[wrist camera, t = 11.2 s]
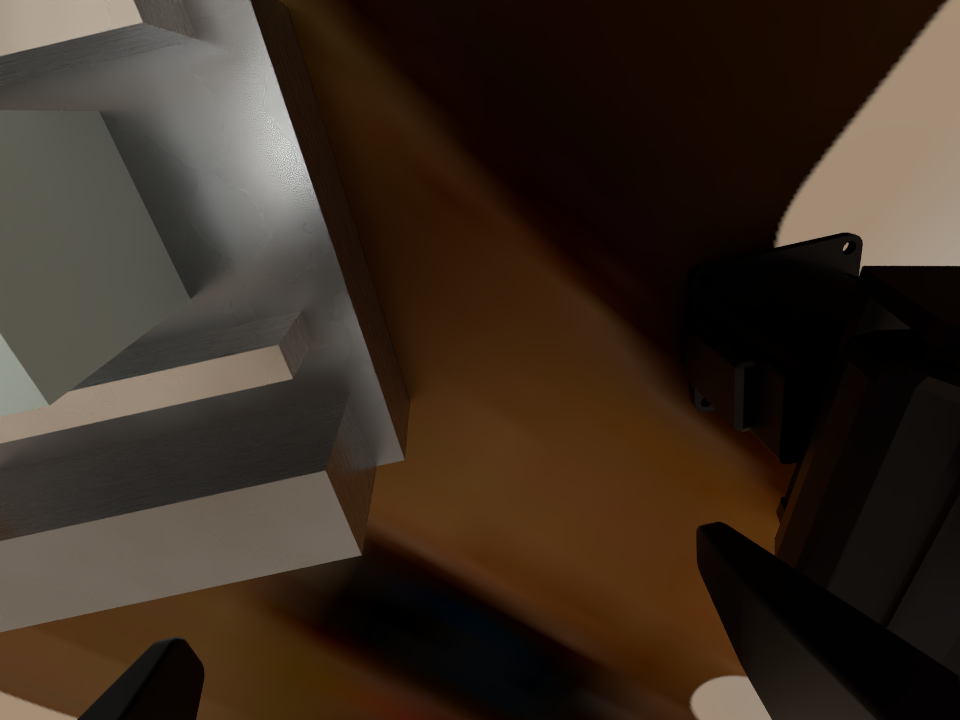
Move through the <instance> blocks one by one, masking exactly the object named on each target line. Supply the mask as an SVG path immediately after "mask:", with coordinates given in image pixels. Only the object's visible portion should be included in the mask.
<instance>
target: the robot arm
mask: <svg viewBox="0 0 960 720" xmlns="http://www.w3.org/2000/svg"><path fill="white" fill-rule="evenodd" d="M846 243H849V244H848V247H847V249H846V250H845V251H843V247H844V245H845V244H846ZM862 246H863V243H862V239H861V238H860V237H859V236H857V235H855V234H851V233H840V234H835V235H831V236H826V237H822V238H817V239H813V240H809V241H804V242H799V243H795V244H790V245H786V246H781V247H777V248H772V249H768V250H763V251H759V252H754V253H750V254H745V255H741V256H736V257H732V258H727V259H723V260H718V261H713V262H709V263H704V264H700V265H698V266H695V267H694V268H693V269H692V270H691V272H690V273H689V276H688V306H689V319H688V320H687V321H686V323H685V325H684V353H685V377H686V379H687V380H688V381H689V382H690V384H691V402H692V404H693V405H694V406H695V407H696V408H697V410H698V411H701V412H708V411H712V410H716V411H717V412H718V413H719V414H720V415H721V416H722V417H723V418H724V419H725V420H726V421H727V422H728V424H729V425H730V426H731V427H732V428H734V429H735V430H737V431H739V432H745V431H750V432H751V433H752V434H753V435H754V436H755V437H756V438H757V439H758V440H759V441H760V442H761V443H762V444H763V445H764V446H765V447H766V448H767V449H768V450H769V451H770V452H771V453H772V454H773V455H774V456H775V457H776V458H777V459H778V460H779V461H780V462H781V463H782V464H791V463H795V462H797V465H796V467H795V470H794V473H793V476H792V479H791V482H790V484H789V487H788V490H787V493H786V496H785V497H782V498H781V499H780V502H779V505H778V508H777V511H776V512H777V516H778V519H779V521H780V526H779V529H778V532H777V534H776V537H775V556H774V555H773V554H771V553H770V552H768V551H767V550H765V549H764V548H762V547H760V546H759V545H757V544H756V543H754V542H753V541H751V540H750V539H748V538H747V537H745V536H744V535H742V534H740V533H739V532H737V531H736V530H734V529H733V528H731V527H730V526H728V525H727V524H725V523H722V522H714V523H710V524H705V525H701V526H699V527H698V528H697V531H696V543H697V564H698V568H699V571H700V574H701V576H702V578H703V581H704V583H705V585H706V587H707V590H708V592H709V594H710V596H711V599H712V601H713V603H714V605H715V608H716V610H717V612H718V614H719V616H720V619H721V621H722V623H723V625H724V628H725V630H726V632H727V634H728V637H729V639H730V641H731V643H732V646H733V648H734V650H735V652H736V654H737V657H738V659H739V661H740V663H741V665H742V667H743V669H744V671H745V673H746V674H747V676H748V678H749V680H750V682H751V684H752V685H753V687H754V689H755V690H756V692H757V694H758V696H759V698H760V699H761V701H762V703H763V705H764V706H765V708H766V710H767V712H768V713H769V715H770V717H771V719H772V720H960V266H863V267H862V269H861V272H860V275H859V269H860V261H861V254H862ZM705 273H707V278H706V280H705V281H704V282H702V283H699V278H700V277H701V276H702V275H703V274H705ZM703 398H705V399H706V401H704V402H701V400H702V399H703ZM203 683H204V667H203V664H202V662H201V661H200V659H199V658H198V657H197V655H196V654H195V652H194V651H193V650H192V648H191V647H190V645H189V644H188V643H187V641H186V640H185V639H184V638H182V637H173V638H168V639H164V640H160V641H157V642H155V643H154V644H152V645H151V646H150V647H149V648H148V649H147V650H146V651H145V652H144V653H143V654H142V655H141V656H140V657H139V658H138V659H137V660H136V661H135V662H134V663H133V664H132V665H131V666H130V667H129V668H128V669H127V670H126V671H125V672H124V673H123V674H122V675H121V676H120V677H119V678H118V679H117V680H116V681H115V682H114V683H113V684H112V685H111V686H110V687H109V688H108V689H107V690H106V691H105V692H104V693H103V694H102V695H101V696H100V697H99V698H98V699H97V700H96V701H95V702H94V703H93V704H92V705H91V706H90V707H89V708H88V709H87V710H86V711H85V712H84V713H83V714H82V715H81V716H80V717H79V718H78V719H77V720H196V717H197V712H198V707H199V702H200V697H201V692H202V687H203Z"/></svg>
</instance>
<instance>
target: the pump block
mask: <svg viewBox="0 0 960 720" xmlns="http://www.w3.org/2000/svg"><path fill="white" fill-rule="evenodd" d="M189 300H190V298H189V296H188V294H187V292H186V290H185V287H184V285H183V283H182V281H181V279H180V277H179V275H178V273H177V271H176V269H175V267H174V265H173V263H172V261H171V259H170V257H169V254H168V252H167V250H166V248H165V246H164V244H163V242H162V240H161V238H160V236H159V234H158V232H157V230H156V228H155V226H154V224H153V221H152V219H151V217H150V215H149V213H148V211H147V209H146V207H145V205H144V203H143V201H142V199H141V197H140V195H139V193H138V191H137V188H136V186H135V184H134V182H133V180H132V178H131V176H130V174H129V172H128V170H127V168H126V166H125V164H124V162H123V160H122V158H121V155H120V153H119V151H118V149H117V147H116V145H115V143H114V141H113V139H112V137H111V135H110V133H109V131H108V129H107V127H106V125H105V122H104V120H103V118H102V116H101V114H100V112H99V111H40V110H0V417H2V416H6V415H11V414H15V413H20V412H24V411H29V410H33V409H38V408H42V407H47V406H50V405H51V404H53V403H54V402H55V401H57V400H58V399H59V398H61V397H62V396H63V395H64V394H66V393H67V392H68V391H70V390H71V389H72V388H74V387H75V386H76V385H78V384H79V383H80V382H82V381H83V380H84V379H86V378H87V377H88V376H90V375H91V374H92V373H94V372H95V371H96V370H98V369H99V368H100V367H102V366H103V365H104V364H106V363H107V362H108V361H109V360H111V359H112V358H113V357H115V356H116V355H117V354H119V353H120V352H121V351H123V350H124V349H125V348H127V347H128V346H129V345H131V344H132V343H133V342H135V341H136V340H137V339H139V338H140V337H141V336H143V335H144V334H145V333H147V332H148V331H149V330H151V329H152V328H153V327H154V326H156V325H157V324H158V323H160V322H161V321H162V320H164V319H165V318H166V317H168V316H169V315H170V314H172V313H173V312H174V311H176V310H177V309H178V308H180V307H181V306H182V305H184V304H185V303H186V302H188V301H189Z"/></svg>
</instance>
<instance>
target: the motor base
mask: <svg viewBox="0 0 960 720" xmlns="http://www.w3.org/2000/svg"><path fill="white" fill-rule="evenodd" d="M0 110H40V111H99V112H100V114H101V116H102V118H103V120H104V122H105V125H106V127H107V129H108V131H109V133H110V135H111V137H112V139H113V141H114V143H115V145H116V147H117V149H118V151H119V153H120V155H121V158H122V160H123V162H124V164H125V166H126V168H127V170H128V172H129V174H130V176H131V178H132V180H133V182H134V184H135V186H136V188H137V191H138V193H139V195H140V197H141V199H142V201H143V203H144V205H145V207H146V209H147V211H148V213H149V215H150V217H151V219H152V221H153V224H154V226H155V228H156V230H157V232H158V234H159V236H160V238H161V240H162V242H163V244H164V246H165V248H166V250H167V252H168V254H169V257H170V259H171V261H172V263H173V265H174V267H175V269H176V271H177V273H178V275H179V277H180V279H181V281H182V283H183V285H184V287H185V290H186V292H187V294H188V296H189V298H190V300H189V301H188V302H186V303H185V304H184V305H182V306H181V307H180V308H178V309H177V310H176V311H174V312H173V313H172V314H170V315H169V316H168V317H166V318H165V319H164V320H162V321H161V322H160V323H158V324H157V325H156V326H154V327H153V328H152V329H151V330H149V331H148V332H147V333H145V334H144V335H143V336H141V337H140V338H139V339H137V340H136V341H135V342H133V343H132V344H131V345H129V346H128V347H127V348H125V349H124V350H123V351H121V352H120V353H119V354H117V355H116V356H115V357H113V358H112V359H111V360H109V361H108V362H107V363H106V364H104V365H103V366H102V367H100V368H99V369H98V370H96V371H95V372H94V373H92V374H91V375H90V376H88V377H87V378H86V379H84V380H83V381H82V382H80V383H79V384H78V385H76V386H75V387H74V388H72V389H71V390H70V391H68V392H67V393H66V394H64V395H63V396H62V397H61V398H59V399H58V400H57V401H55V402H54V403H53V404H51V405H50V406H47V407H42V408H38V409H33V410H29V411H24V412H20V413H15V414H11V415H6V416H2V417H0V632H3V631H8V630H13V629H17V628H22V627H27V626H31V625H36V624H41V623H45V622H50V621H55V620H60V619H64V618H69V617H74V616H78V615H83V614H88V613H92V612H97V611H102V610H106V609H111V608H116V607H121V606H125V605H130V604H135V603H139V602H144V601H149V600H153V599H158V598H163V597H168V596H172V595H177V594H182V593H186V592H191V591H196V590H200V589H205V588H210V587H214V586H219V585H224V584H229V583H233V582H238V581H243V580H247V579H252V578H257V577H261V576H266V575H271V574H275V573H280V572H285V571H290V570H294V569H299V568H304V567H308V566H313V565H318V564H322V563H327V562H332V561H336V560H341V559H346V558H351V557H355V556H360V555H362V550H363V544H364V538H365V533H366V527H367V521H368V515H369V509H370V503H371V497H372V491H373V485H374V479H375V473H376V467H377V466H380V465H384V464H389V463H393V462H398V461H403V460H405V452H406V441H407V430H408V419H409V408H410V400H409V397H408V394H407V390H406V387H405V384H404V381H403V378H402V374H401V371H400V368H399V365H398V361H397V358H396V355H395V352H394V349H393V345H392V342H391V339H390V336H389V333H388V329H387V326H386V323H385V320H384V316H383V313H382V310H381V307H380V304H379V300H378V297H377V294H376V291H375V288H374V284H373V281H372V278H371V275H370V271H369V268H368V265H367V262H366V259H365V255H364V252H363V249H362V246H361V243H360V239H359V236H358V233H357V230H356V226H355V223H354V220H353V217H352V214H351V210H350V207H349V204H348V201H347V198H346V194H345V191H344V188H343V185H342V181H341V178H340V175H339V172H338V169H337V165H336V162H335V159H334V156H333V153H332V149H331V146H330V143H329V140H328V136H327V133H326V130H325V127H324V124H323V120H322V117H321V114H320V111H319V107H318V104H317V101H316V98H315V95H314V91H313V88H312V85H311V82H310V79H309V75H308V72H307V69H306V66H305V62H304V59H303V56H302V53H301V50H300V46H299V43H298V40H297V37H296V34H295V30H294V27H293V24H292V21H291V17H290V14H289V11H288V8H287V6H285V5H284V4H283V3H281V2H280V1H278V0H0Z"/></svg>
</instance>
